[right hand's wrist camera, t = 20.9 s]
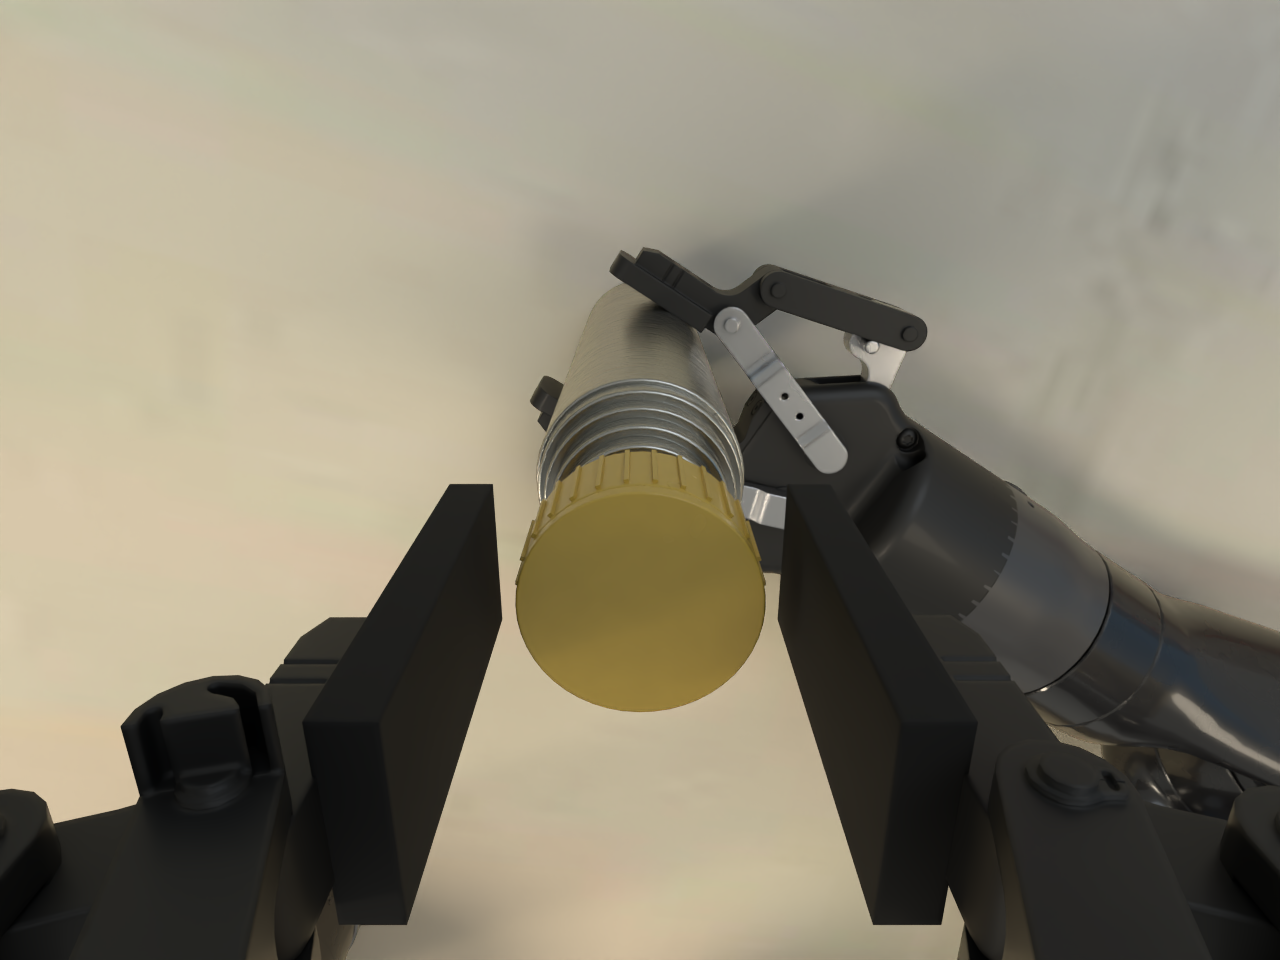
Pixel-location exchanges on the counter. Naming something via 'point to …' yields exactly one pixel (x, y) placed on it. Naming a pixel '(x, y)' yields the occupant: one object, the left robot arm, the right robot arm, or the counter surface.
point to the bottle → (639, 396)
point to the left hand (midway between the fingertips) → (576, 328)
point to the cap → (640, 583)
